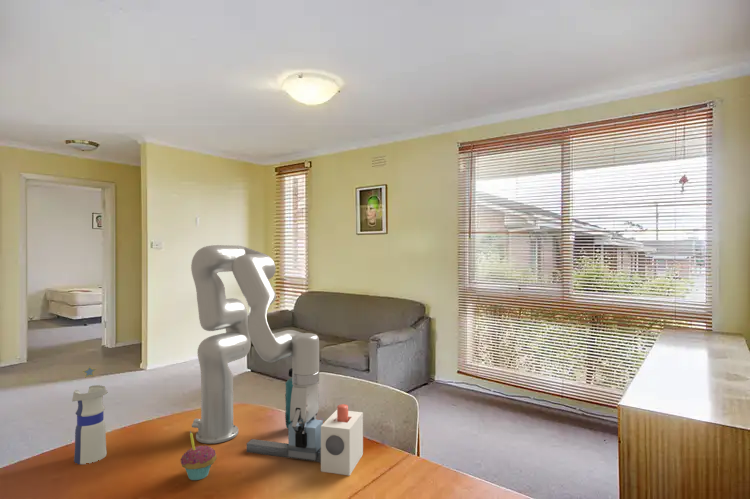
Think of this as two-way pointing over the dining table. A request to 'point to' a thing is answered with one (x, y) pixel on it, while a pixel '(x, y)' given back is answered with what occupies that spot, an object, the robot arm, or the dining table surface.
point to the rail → (274, 449)
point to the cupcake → (198, 460)
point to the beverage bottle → (288, 398)
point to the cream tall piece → (90, 424)
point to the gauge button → (342, 413)
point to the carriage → (312, 440)
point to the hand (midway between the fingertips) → (305, 441)
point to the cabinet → (341, 443)
